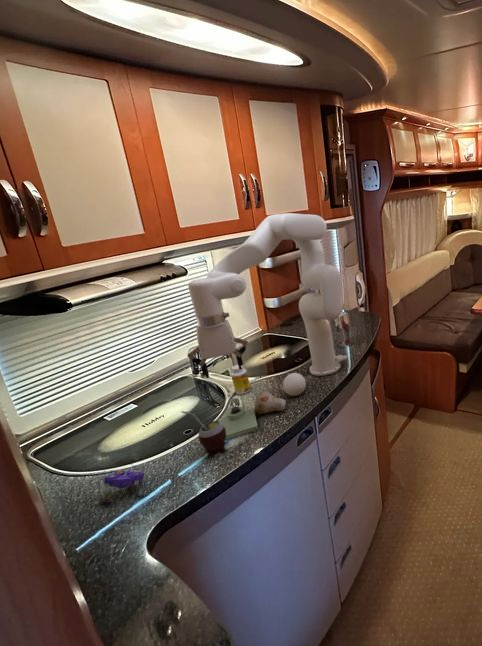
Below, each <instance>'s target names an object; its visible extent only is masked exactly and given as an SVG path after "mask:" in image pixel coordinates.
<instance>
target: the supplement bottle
mask: <svg viewBox="0 0 482 646" xmlns="http://www.w3.org/2000/svg"><path fill="white" fill-rule="evenodd" d="M241 368H242V369H241V370H240V369H239V366H238V364H235V365H233V366H231V373H230V376H231V380H232V384H233V387H234V392H235V393H236V395H244V394H247V393H248V392H250V390H252V389H251V384H250V380H249V375H248V371H247V369H246V368H245V367H244V364H243V365H242V366H241Z"/></svg>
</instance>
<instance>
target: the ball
mask: <svg viewBox="0 0 482 646" xmlns="http://www.w3.org/2000/svg"><path fill="white" fill-rule="evenodd" d="M306 384H307V382H306V379H305V377H304V376H303V375H302V374H301V373H298V372H292V373H289V374H287V375H286V376H285V377H284V379H283V381H282V388H283V390H284V392H285V393H286V394H287V395H288V396H292V397H297V396H300V395H301V394H302V393H303V392H304V391H305V389H306V387H307V385H306Z"/></svg>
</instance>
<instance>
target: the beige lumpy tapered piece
mask: <svg viewBox="0 0 482 646" xmlns="http://www.w3.org/2000/svg"><path fill="white" fill-rule="evenodd" d="M286 405H287V402H286V400H285V399H284V398H279V397H277V396H275V395H272V394H271V393H269V392H267V391H259V392H258V393H257V395H256V398H255V403H254V411H255V414H260V415H264V414H269V413H272V412H283V411H284V410H285V409H286Z"/></svg>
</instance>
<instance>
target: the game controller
mask: <svg viewBox="0 0 482 646" xmlns="http://www.w3.org/2000/svg"><path fill="white" fill-rule="evenodd" d="M116 464H118V462H116V463H113V464H112V466H113V465H116ZM120 464H125V462H120ZM127 464H128V465H130V466H132V467H134V468H133V469H129V470H127V471H126V474H125V470H124V469H119V470H116V471H114V472H112V473H108V474H106V475H105V476H104V479H103V483H104V487H106V488H110V487H111V488H118V489H125V490H126V492H127V493H129V494H131V495H132V496H135V497H137V498H142V496H141V495H139V494H137V493H135V492H133V491H131V490H129V489H127V488H128V487H130V486H133V485H134V486H135V485H136V486H137V485H139V484H140V483H141V482H142V481H143V479H144V477H145V473H144V472H143V471H139V470H138V468H137V467H136V466H134V464H132V463H130V462H127ZM110 467H111V465H109V466H108V468H110ZM104 473H105V471H103V472H102V474H104ZM100 476H101V477H100V479H99V481H101V480H102V477H103V475H100ZM100 487H101V483H99V484H98V491H99V492H98V493H99V494H101V488H100ZM99 497H100V500H101V502H102V503H103V504H104V505H109V504H112V503H113V502H114V500H115V499H114V498H111V499H110V500H109V501H108V502H107V503H105V502H104V501H103V499H102V496H101V495H99Z"/></svg>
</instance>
